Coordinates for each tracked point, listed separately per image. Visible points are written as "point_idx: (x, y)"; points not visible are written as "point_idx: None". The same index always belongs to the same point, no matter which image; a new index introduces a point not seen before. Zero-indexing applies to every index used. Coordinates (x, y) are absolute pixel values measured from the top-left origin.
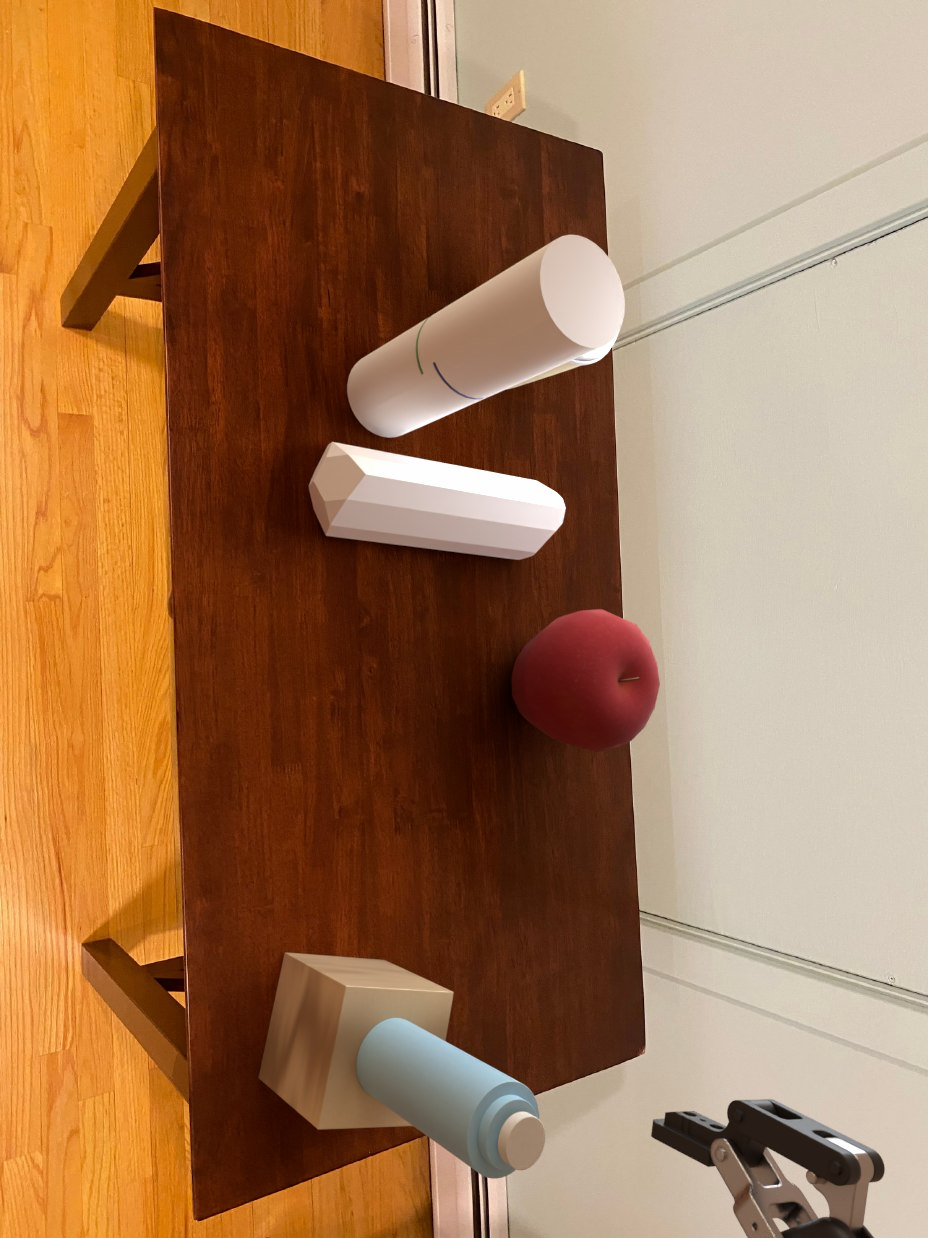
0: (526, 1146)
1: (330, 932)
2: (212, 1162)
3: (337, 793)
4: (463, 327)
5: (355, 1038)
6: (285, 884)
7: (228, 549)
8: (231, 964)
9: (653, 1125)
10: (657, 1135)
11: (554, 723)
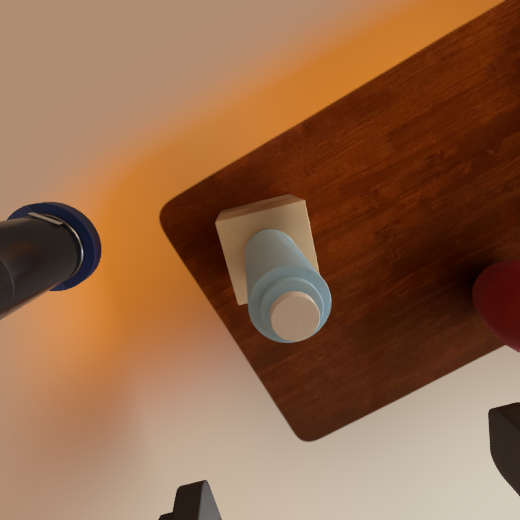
0: (293, 321)
1: None
2: (172, 205)
3: (384, 183)
4: None
5: (275, 223)
6: (325, 175)
7: (504, 37)
8: (273, 164)
9: (515, 404)
10: (515, 415)
11: (505, 288)
